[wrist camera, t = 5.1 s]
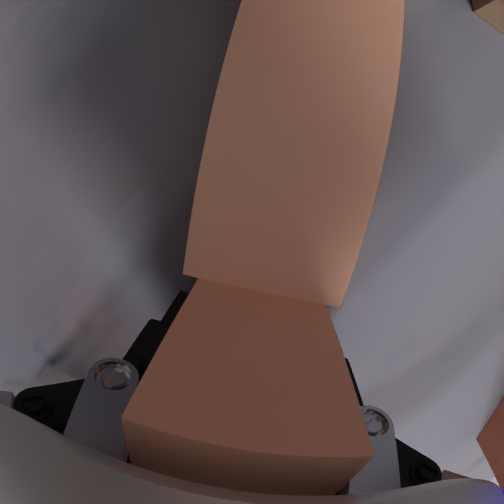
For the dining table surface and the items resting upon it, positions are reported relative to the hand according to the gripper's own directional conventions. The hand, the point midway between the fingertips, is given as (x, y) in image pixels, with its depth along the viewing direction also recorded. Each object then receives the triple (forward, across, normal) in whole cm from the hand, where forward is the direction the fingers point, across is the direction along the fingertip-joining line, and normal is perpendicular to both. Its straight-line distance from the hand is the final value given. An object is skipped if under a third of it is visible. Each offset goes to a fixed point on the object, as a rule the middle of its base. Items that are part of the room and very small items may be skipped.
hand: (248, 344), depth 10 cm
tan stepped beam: (+1, 0, -8) cm, 8 cm away
